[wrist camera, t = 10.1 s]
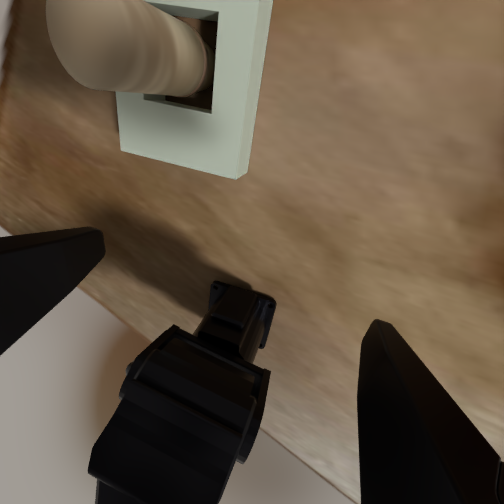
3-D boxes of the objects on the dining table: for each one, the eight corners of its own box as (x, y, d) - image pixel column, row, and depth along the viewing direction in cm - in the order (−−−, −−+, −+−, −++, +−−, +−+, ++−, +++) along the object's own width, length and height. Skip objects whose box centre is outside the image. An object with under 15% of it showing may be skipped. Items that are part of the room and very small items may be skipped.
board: (247, 172, 20) (235, 179, 18) (143, 146, 21) (120, 150, 19) (282, -61, 14) (270, -91, 12) (131, -72, 15) (97, -101, 13)
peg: (220, 103, 18) (131, 99, 11) (172, 93, 19) (56, 83, 11) (226, 34, 16) (123, -30, 9) (172, 26, 17) (33, -40, 9)
